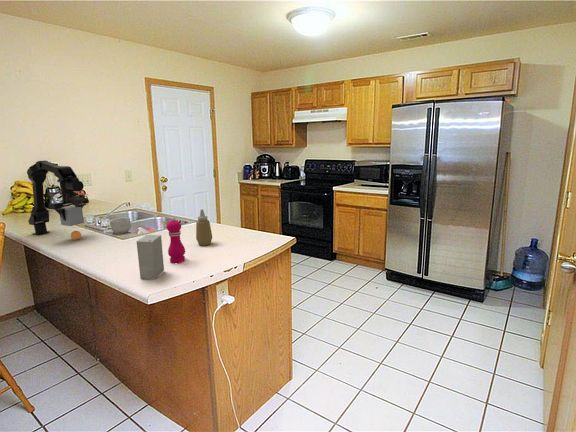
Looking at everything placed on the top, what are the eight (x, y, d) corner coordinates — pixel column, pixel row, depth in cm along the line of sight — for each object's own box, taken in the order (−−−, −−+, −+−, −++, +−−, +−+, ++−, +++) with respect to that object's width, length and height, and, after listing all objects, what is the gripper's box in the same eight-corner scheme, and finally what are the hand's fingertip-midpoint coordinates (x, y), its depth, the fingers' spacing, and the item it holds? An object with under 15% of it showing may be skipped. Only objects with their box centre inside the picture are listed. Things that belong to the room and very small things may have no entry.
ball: (74, 234, 183) (74, 242, 185) (83, 231, 187) (83, 239, 189) (68, 230, 184) (68, 238, 186) (77, 228, 189) (77, 236, 191)
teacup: (123, 235, 194) (121, 221, 192) (107, 234, 196) (105, 221, 194) (138, 228, 207) (137, 216, 205) (123, 228, 209) (121, 215, 207)
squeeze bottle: (198, 247, 168) (195, 212, 164) (195, 243, 175) (191, 209, 171) (214, 245, 171) (212, 210, 167) (210, 240, 178) (207, 207, 174)
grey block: (61, 224, 184) (58, 209, 182) (75, 221, 191) (72, 206, 189) (70, 226, 181) (67, 210, 179) (84, 222, 188) (81, 207, 185)
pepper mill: (171, 258, 153) (166, 215, 149) (187, 257, 154) (183, 214, 149) (167, 264, 146) (162, 219, 142) (184, 263, 147) (179, 218, 142)
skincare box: (149, 271, 140) (145, 234, 136) (166, 271, 139) (162, 234, 135) (139, 279, 131) (133, 240, 128) (156, 279, 131) (152, 240, 127)
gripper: (59, 194, 170) (64, 224, 173) (93, 188, 186) (97, 216, 190) (45, 192, 174) (50, 222, 178) (80, 187, 191) (84, 214, 194)
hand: (72, 218), depth 185 cm, fingers closed on grey block, 8 cm apart
